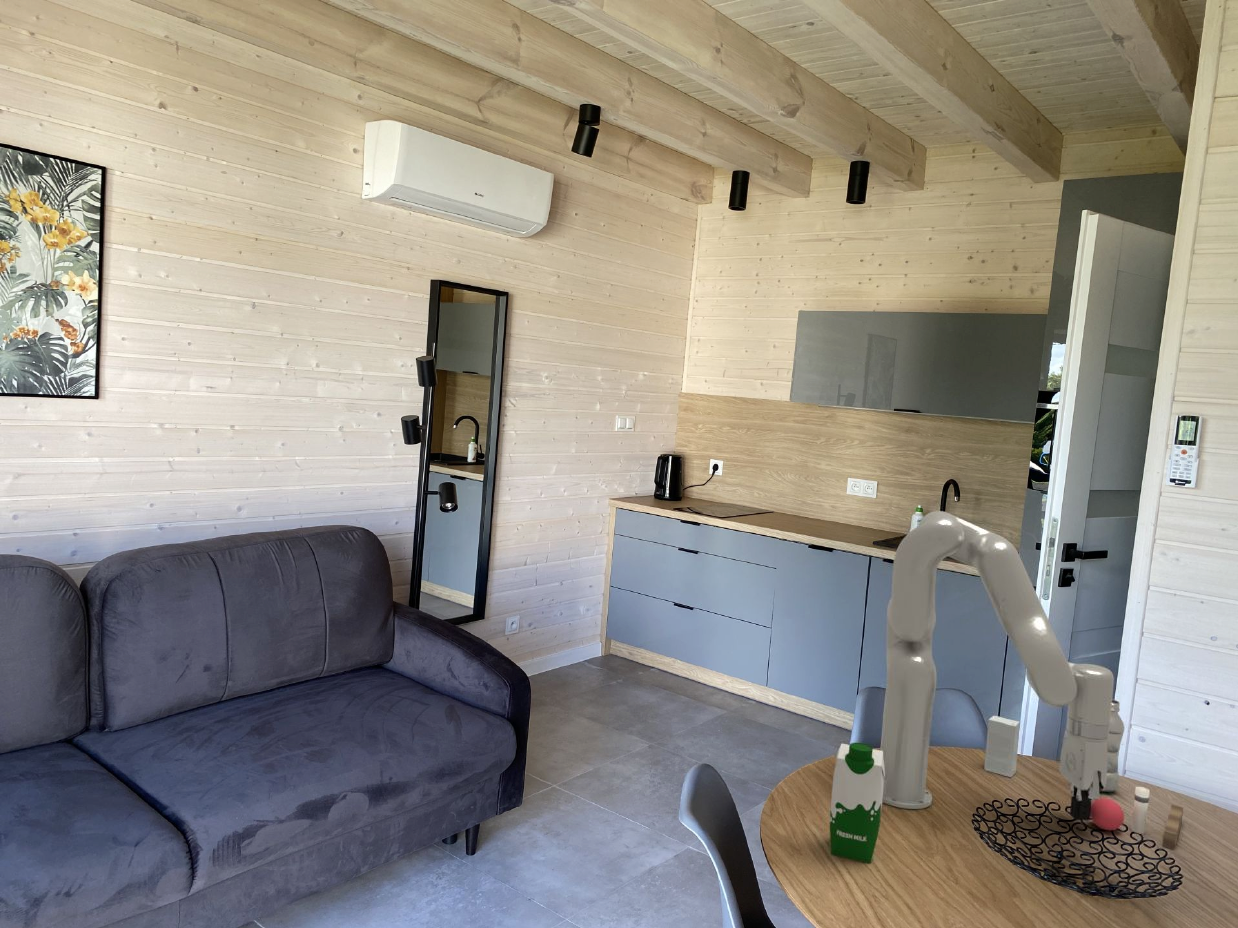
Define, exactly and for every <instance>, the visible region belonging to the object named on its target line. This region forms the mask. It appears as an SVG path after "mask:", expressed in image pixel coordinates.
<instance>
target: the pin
mask: <svg viewBox="0 0 1238 928" xmlns="http://www.w3.org/2000/svg"><path fill="white" fill-rule="evenodd" d="M1149 801H1150V789H1148V788H1146V787H1144V786H1138V785H1137V786H1135V790H1134V800H1133V809H1132V818H1131V819H1132V820H1131V829H1130V830H1131V831H1132V832H1134V833H1136V834H1140V835H1144V834H1145V833H1146V827H1147V817H1148V816H1147V815H1148V810H1149V809H1148V808H1149Z"/></svg>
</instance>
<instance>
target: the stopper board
mask: <svg viewBox="0 0 1238 928" xmlns="http://www.w3.org/2000/svg"><path fill="white" fill-rule="evenodd" d="M1183 813H1184V807H1183V806H1179V805H1175V804H1171V806H1170V810H1169V814H1168V817H1167V819H1166V824H1165V827H1164V830H1163V839H1162V847H1165V848H1168V849H1171V850H1174V851H1175V849H1176V845H1177V842H1178V837H1179V833H1180V830H1181V827H1182V821H1183Z"/></svg>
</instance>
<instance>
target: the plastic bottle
mask: <svg viewBox="0 0 1238 928" xmlns="http://www.w3.org/2000/svg"><path fill="white" fill-rule="evenodd" d="M1119 712H1120V702H1119V701H1117V700H1116V699H1112V707H1111V719H1110V730H1109V740H1108V741H1106V742H1107V779H1106V786H1105V789H1104V791H1103V792H1107V793H1113V792H1114V791H1116V790H1117V789H1118V786H1119V784H1120V783H1119V782H1120V777H1119V754H1120V748H1121V743H1122V739H1123V736H1124V732H1125V723H1124V722H1123V720H1122V717H1121V715H1120V714H1119Z"/></svg>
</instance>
